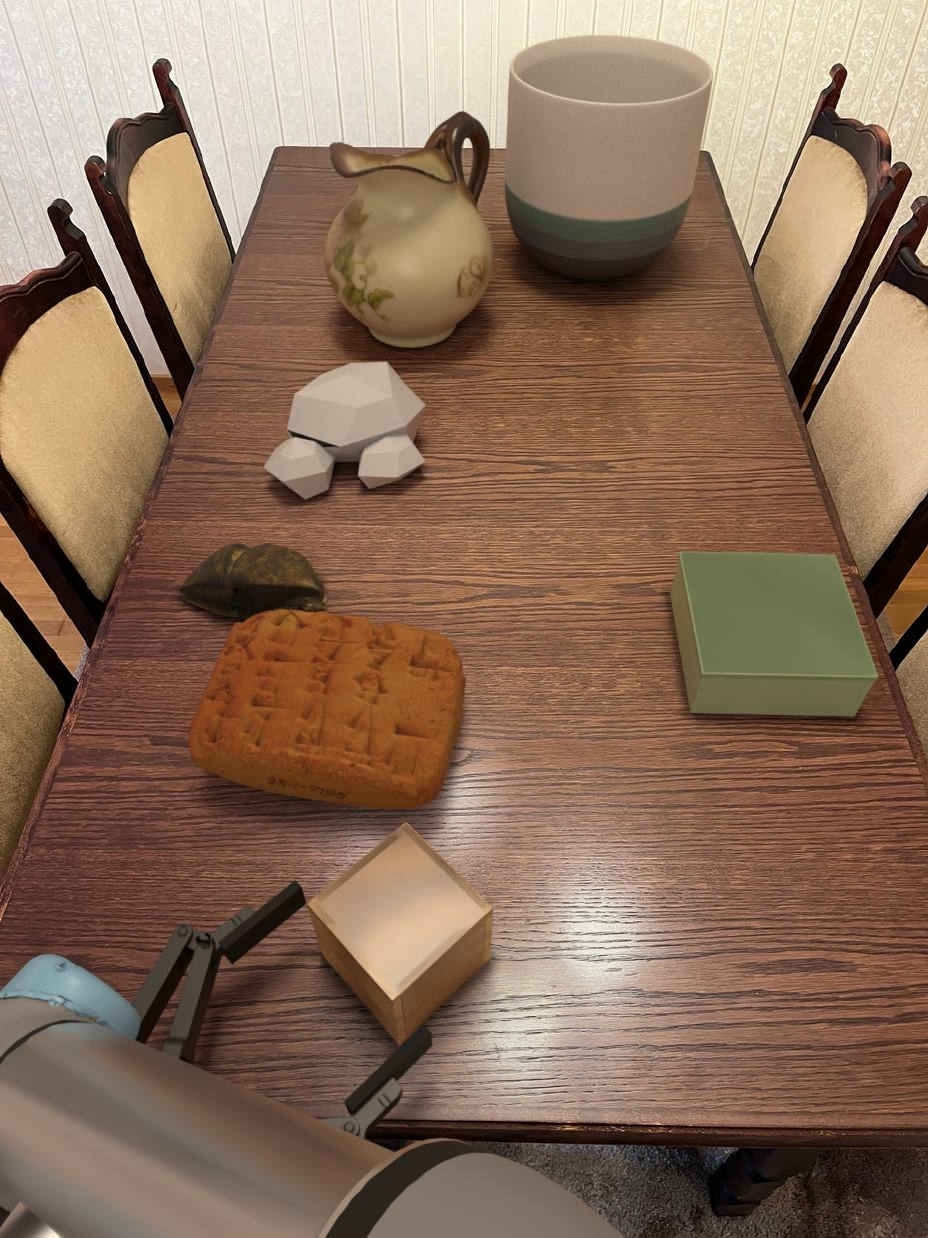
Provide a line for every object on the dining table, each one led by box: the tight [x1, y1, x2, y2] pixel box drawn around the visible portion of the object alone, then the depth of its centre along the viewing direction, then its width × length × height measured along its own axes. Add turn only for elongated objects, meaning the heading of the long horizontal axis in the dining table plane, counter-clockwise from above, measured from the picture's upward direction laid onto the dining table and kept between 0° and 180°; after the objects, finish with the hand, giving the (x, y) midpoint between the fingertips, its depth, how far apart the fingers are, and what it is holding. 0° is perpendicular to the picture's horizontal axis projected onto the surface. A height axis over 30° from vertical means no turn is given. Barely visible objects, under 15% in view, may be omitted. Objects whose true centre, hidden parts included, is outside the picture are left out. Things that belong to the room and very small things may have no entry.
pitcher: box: [323, 110, 495, 349], centre depth 118 cm, size 22×24×25 cm
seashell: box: [179, 542, 328, 620], centre depth 90 cm, size 16×9×7 cm, turn 75°
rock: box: [263, 361, 427, 500], centre depth 104 cm, size 18×20×10 cm
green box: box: [669, 551, 879, 717], centre depth 85 cm, size 15×15×6 cm
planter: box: [504, 34, 714, 281], centre depth 129 cm, size 27×27×27 cm
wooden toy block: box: [306, 822, 494, 1046], centre depth 65 cm, size 9×9×9 cm
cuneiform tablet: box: [187, 609, 466, 810], centre depth 78 cm, size 22×17×8 cm
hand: (361, 959), depth 62 cm, fingers open, 13 cm apart
